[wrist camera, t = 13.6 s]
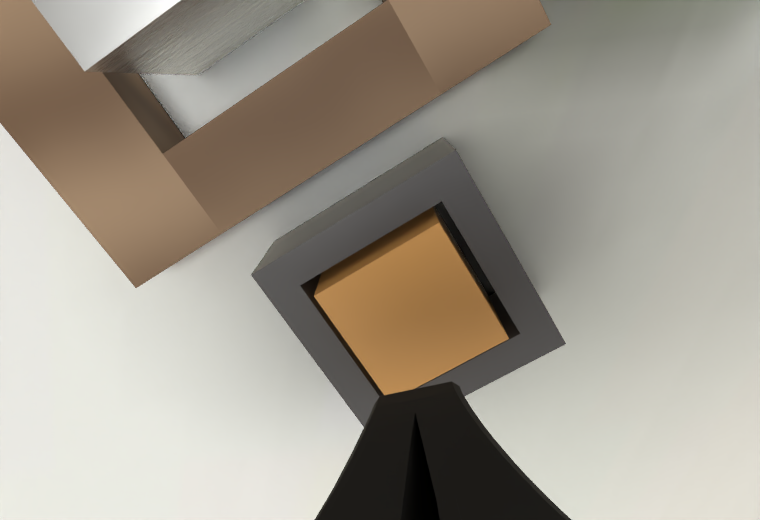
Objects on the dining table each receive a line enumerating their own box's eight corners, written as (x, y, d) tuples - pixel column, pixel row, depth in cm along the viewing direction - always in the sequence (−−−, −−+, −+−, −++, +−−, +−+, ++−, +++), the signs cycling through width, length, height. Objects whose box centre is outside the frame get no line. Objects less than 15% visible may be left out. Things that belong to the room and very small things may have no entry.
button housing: (535, 299, 17) (565, 343, 14) (376, 385, 18) (375, 442, 15) (442, 137, 15) (455, 149, 13) (274, 241, 16) (251, 274, 14)
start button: (487, 294, 16) (509, 338, 14) (388, 348, 17) (389, 402, 14) (429, 196, 15) (438, 222, 13) (326, 258, 16) (313, 296, 13)
